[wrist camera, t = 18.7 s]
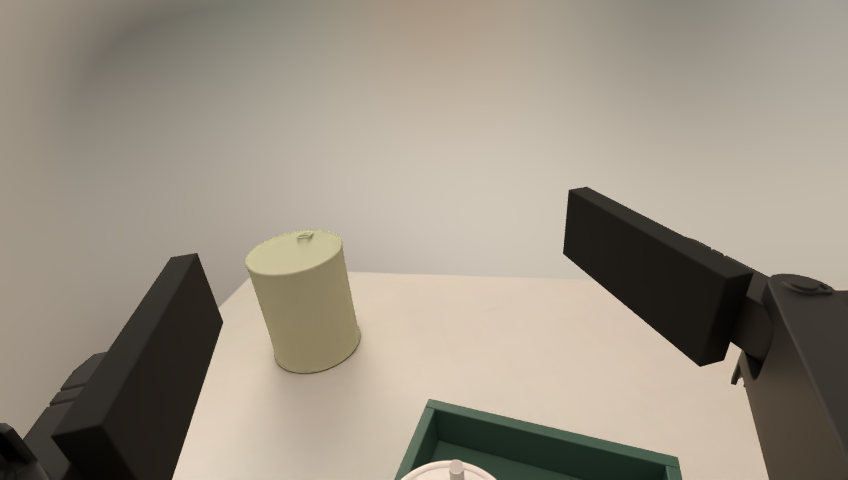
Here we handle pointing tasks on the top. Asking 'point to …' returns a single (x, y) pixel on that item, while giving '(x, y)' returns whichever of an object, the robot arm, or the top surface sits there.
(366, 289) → the top surface
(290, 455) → the top surface
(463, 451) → the bin
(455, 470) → the smoothie
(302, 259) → the can
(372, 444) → the top surface
